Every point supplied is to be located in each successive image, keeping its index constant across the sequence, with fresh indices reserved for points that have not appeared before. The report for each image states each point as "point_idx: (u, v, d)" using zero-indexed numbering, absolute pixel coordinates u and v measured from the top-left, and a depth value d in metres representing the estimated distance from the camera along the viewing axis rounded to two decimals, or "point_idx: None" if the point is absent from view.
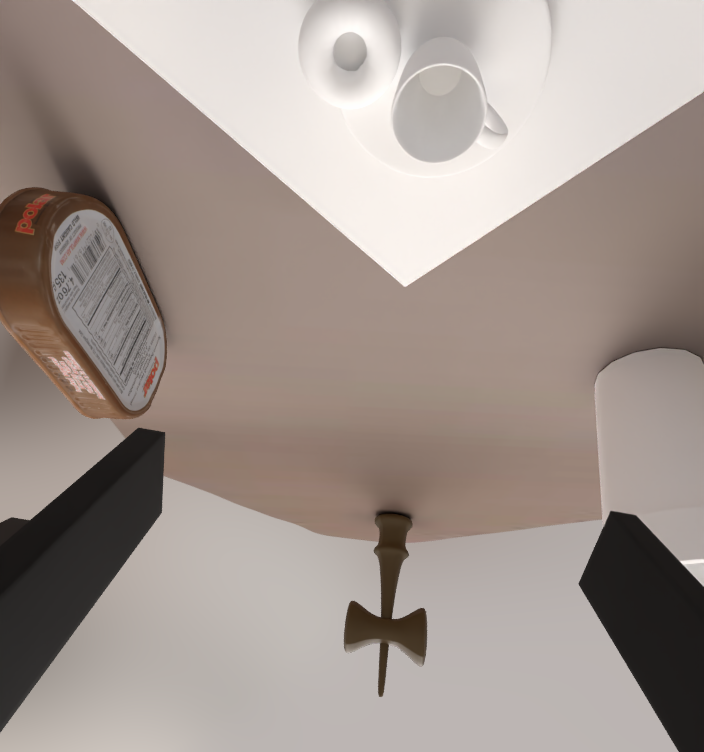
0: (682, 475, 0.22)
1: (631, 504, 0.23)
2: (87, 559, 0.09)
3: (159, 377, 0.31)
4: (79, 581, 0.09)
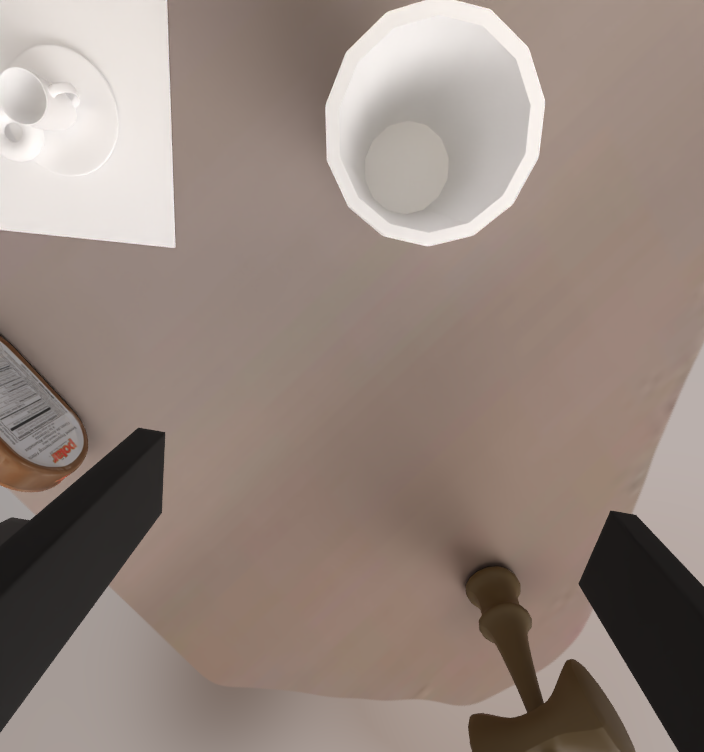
0: None
1: None
2: (87, 559, 0.09)
3: (79, 456, 0.35)
4: (79, 580, 0.09)
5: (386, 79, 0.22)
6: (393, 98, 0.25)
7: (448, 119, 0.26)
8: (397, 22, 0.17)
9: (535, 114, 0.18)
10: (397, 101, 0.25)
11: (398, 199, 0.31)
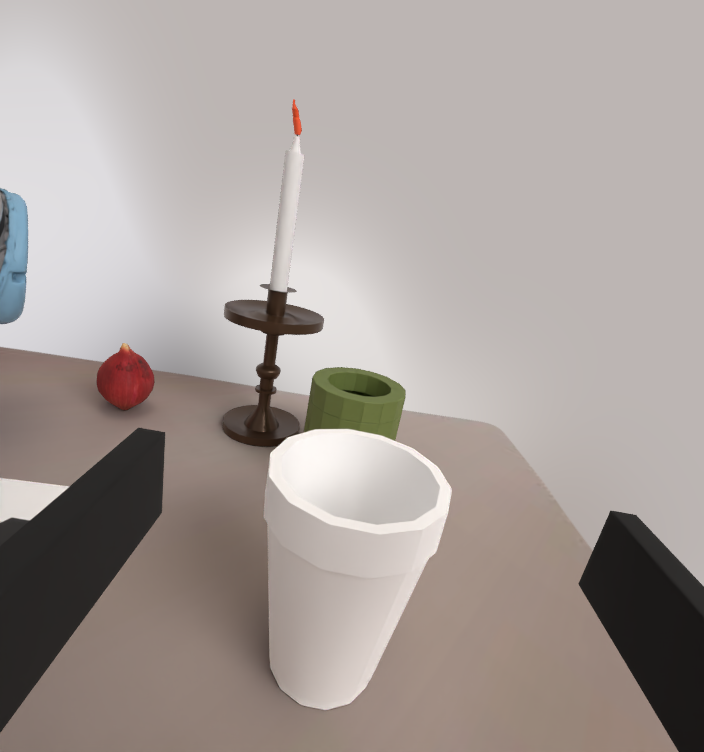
0: None
1: (269, 532, 0.21)
2: (87, 559, 0.09)
3: None
4: (79, 580, 0.09)
5: (309, 501, 0.26)
6: None
7: None
8: (323, 432, 0.26)
9: (435, 471, 0.24)
10: None
11: None
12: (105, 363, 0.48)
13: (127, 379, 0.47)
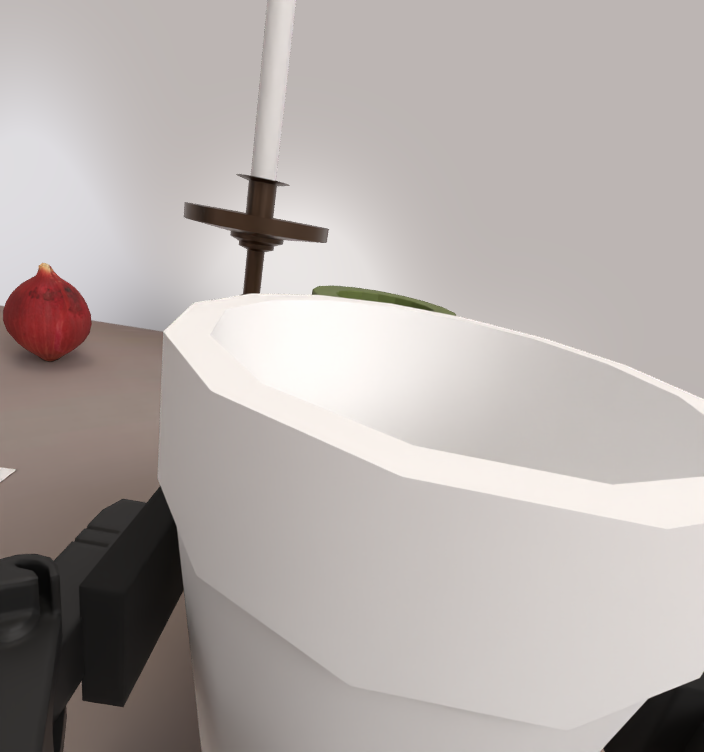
0: None
1: None
2: None
3: None
4: None
5: None
6: None
7: None
8: (337, 300, 0.11)
9: (628, 370, 0.09)
10: None
11: None
12: (15, 289, 0.33)
13: (45, 311, 0.33)
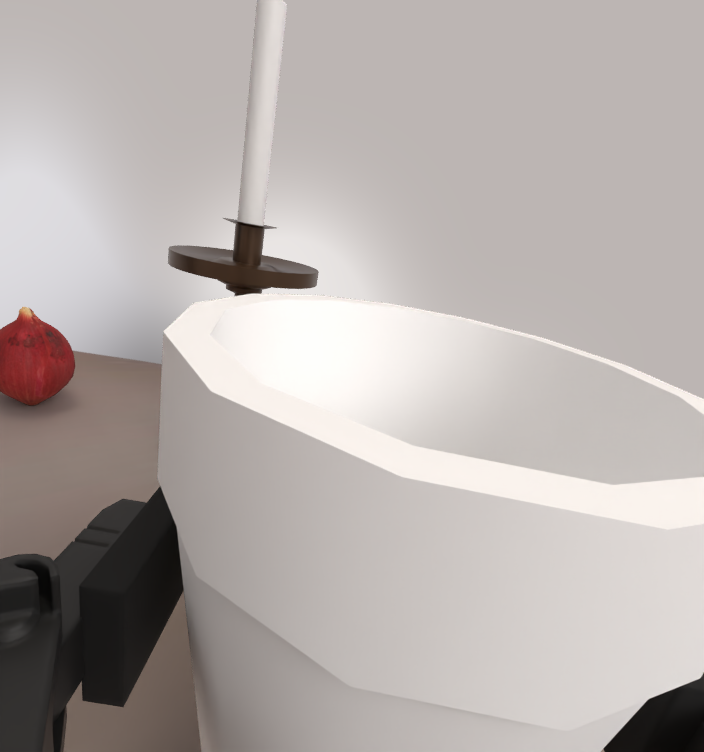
0: None
1: None
2: None
3: None
4: None
5: None
6: None
7: None
8: (337, 300, 0.11)
9: (628, 370, 0.09)
10: None
11: None
12: None
13: (25, 359, 0.32)
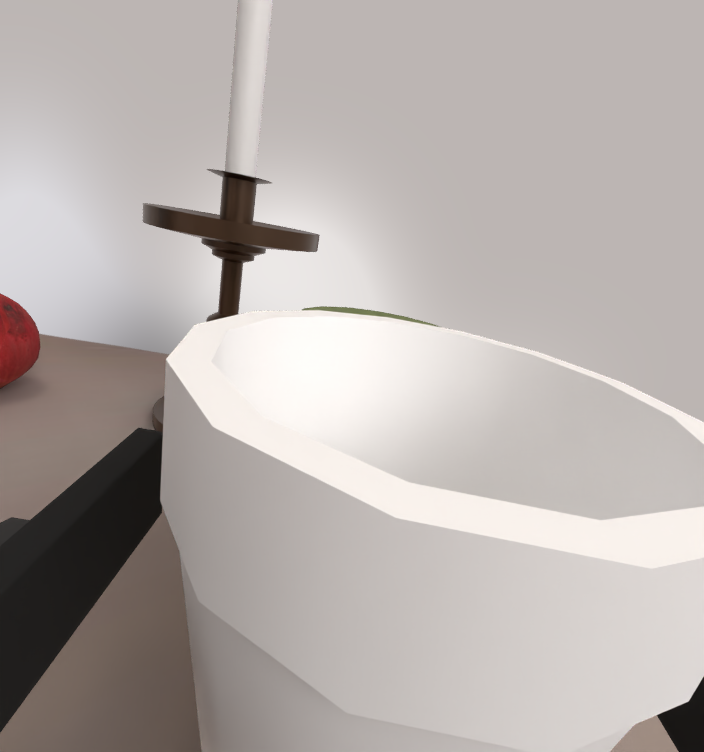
0: None
1: None
2: (87, 559, 0.09)
3: None
4: (79, 580, 0.09)
5: None
6: None
7: None
8: (336, 316, 0.11)
9: (623, 387, 0.09)
10: None
11: None
12: None
13: None
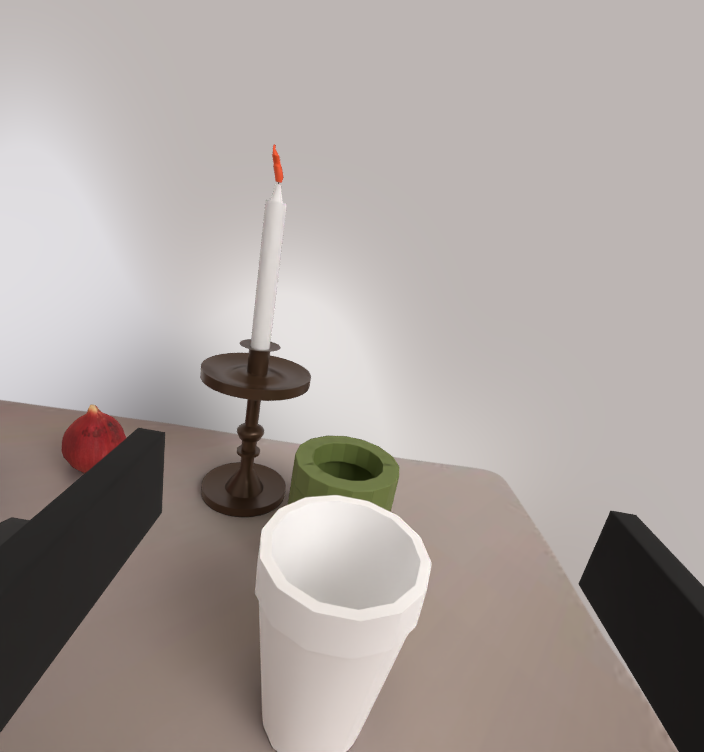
0: None
1: (260, 607, 0.23)
2: (87, 559, 0.09)
3: None
4: (79, 580, 0.09)
5: (299, 564, 0.28)
6: None
7: None
8: (312, 501, 0.27)
9: (417, 542, 0.25)
10: None
11: None
12: (70, 428, 0.43)
13: (94, 446, 0.43)
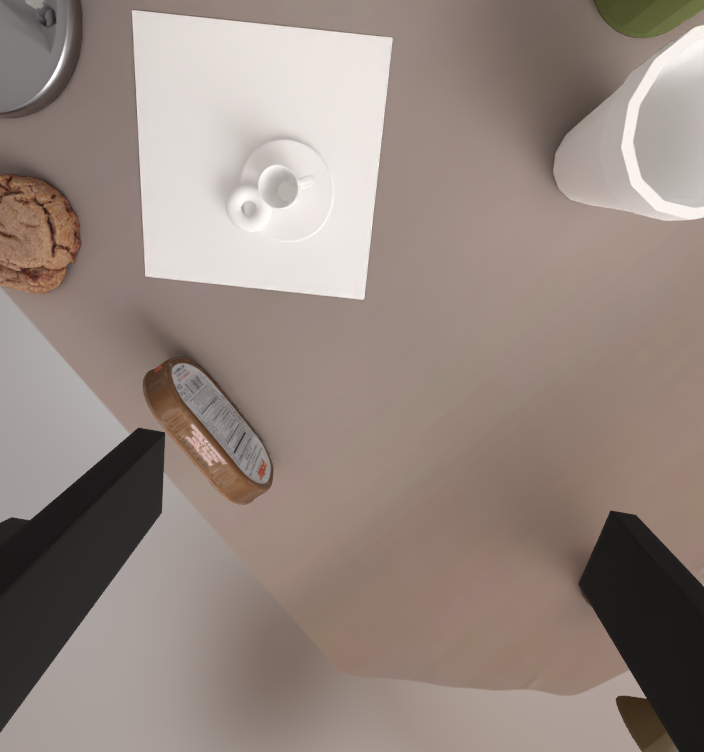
0: (601, 115, 0.26)
1: (598, 160, 0.26)
2: (87, 559, 0.09)
3: (270, 474, 0.42)
4: (79, 580, 0.09)
5: None
6: None
7: (656, 116, 0.31)
8: (700, 36, 0.22)
9: None
10: None
11: None
12: None
13: None
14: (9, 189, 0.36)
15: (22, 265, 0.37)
